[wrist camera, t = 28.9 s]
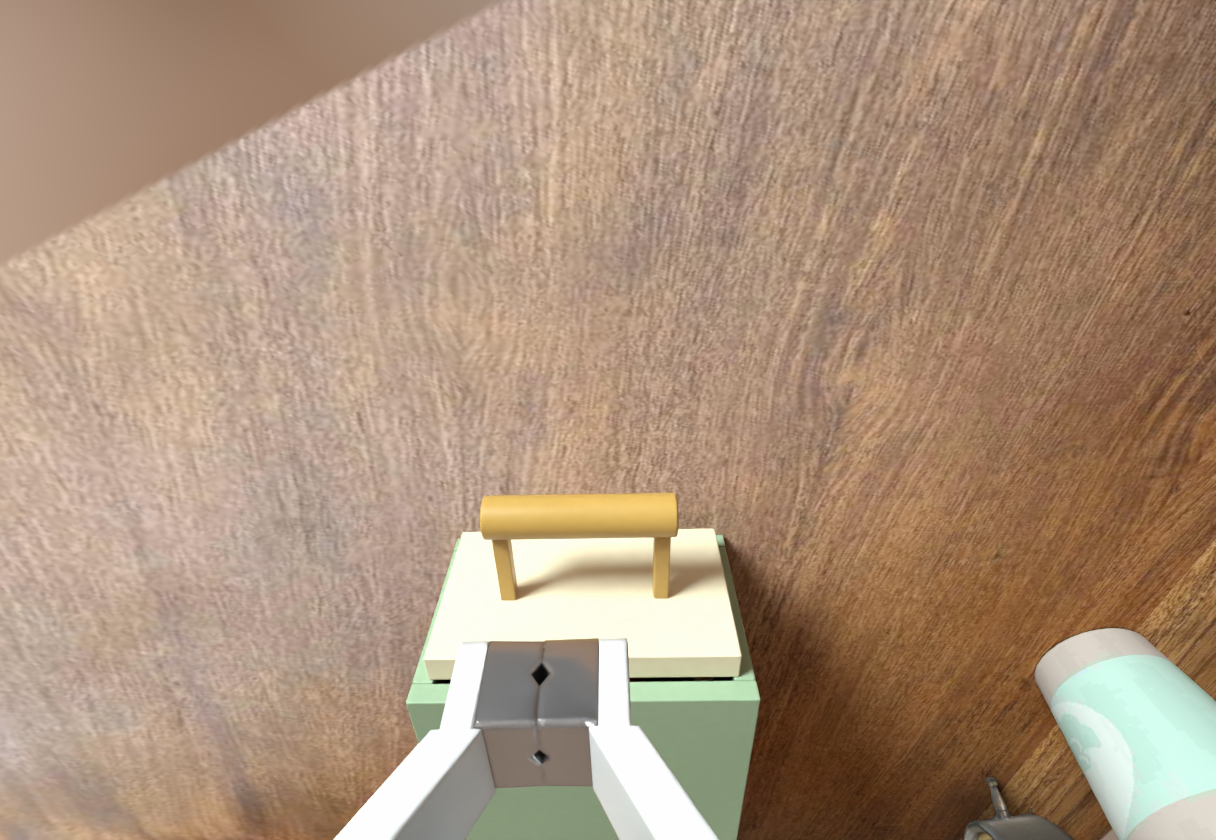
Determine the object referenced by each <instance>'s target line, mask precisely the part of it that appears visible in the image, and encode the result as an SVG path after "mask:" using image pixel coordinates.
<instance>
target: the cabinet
mask: <svg viewBox="0 0 1216 840" xmlns="http://www.w3.org/2000/svg"><path fill="white" fill-rule="evenodd" d="M716 538H717V543H718V547H719V552H720V557H721V561H722V566H723V570H724V575H725V580H726V584H727V589H728V594H729V598H730V603H731V608H732V612H733V617H734V621H735V626H736V631H737V635H738V640H739V645H740V649H741V654H742V658H741V666H740V673H739V676H738V677H714V681H674V682H630V701H631V724H632V725H634V726H641V728H642V729H643V731H644V732H645V734H646V735H647V736H648V738H649V739H650V741H651V742H652V744H653V745H654V747H655V748H656V749H657V751H658V752H659V754H660V755H661V757H662V758H663V760H664V761H665V762H666V764H667V765H668V767H669V768H670V770H671V771H672V772H673V774H674V775H675V777H676V778H677V780H678V781H679V783H680V784H681V785H682V787H683V788H684V790H685V791H686V793H687V794H688V796H689V797H690V798H691V800H692V801H693V803H694V804H695V806H696V807H697V809H698V810H699V811H700V813H701V814H702V816H703V817H704V819H705V820H706V821H707V823H708V824H709V826H710V827H711V829H712V830H713V832H714V833H715V834H716V836H717V837H718V839H719V840H737V835H738V829H739V823H740V817H741V811H742V806H743V800H744V794H745V788H746V782H747V776H748V770H749V764H750V759H751V753H752V747H753V741H754V735H755V729H756V723H757V717H758V712H759V706H760V700H761V699H760V695H759V690H758V686H757V682H756V678H755V674H754V669H753V665H752V661H751V656H750V652H749V648H748V643H747V639H746V635H745V630H744V626H743V622H742V617H741V613H740V609H739V604H738V600H737V595H736V591H735V587H734V582H733V578H732V574H731V569H730V565H729V561H728V556H727V552H726V548H725V542H724V538H723V535H716ZM460 540H461V539H458V540H457V543H456V546H455V550H454V553H453V557H452V560H451V563H450V566H449V569H448V572H447V575H446V579H445V582H444V585H443V588H442V591H441V594H440V597H439V601H438V604H437V607H436V610H435V613H434V616H433V620H432V623H431V626H430V629H429V632H428V635H427V638H426V642H425V645H424V648H423V651H422V654H421V657H420V661H419V664H418V667H417V670H416V673H415V676H414V679H413V684H412V685H411V689H410V692H409V695H408V698H407V701H406V705H407V708H408V711H409V715H410V718H411V721H412V724H413V727H414V730H415V734H416V737H417V740H418V743H420V742H421V740H422V739H423V738H424V737H425V736H426V735H427V734H428V733H429V731H430V730H437V729H440V725H441V720H442V716H443V712H444V708H445V703H446V699H447V695H448V690H449V686H450V682H451V680H429V678H428V674H427V671H426V667H425V663H424V656H425V652H426V649H427V646H428V643H429V640H430V636H431V633H432V630H433V627H434V624H435V620H436V617H437V614H438V611H439V607H440V604H441V601H442V598H443V595H444V591H445V588H446V585H447V582H448V579H449V575H450V572H451V569H452V566H453V563H454V559H455V556H456V553H457V550H458V547H459V543H460ZM495 791H496V792H495V794H494V795H493V797H492V799H491V800H490V802H489V803H488V805H487V806H486V808H485V809H484V811H483V813H482V814H481V816H480V817H479V819H478V820H477V822H476V823H475V825H474V827H473V828H472V830H471V831H470V833H469V834H468V836H467V837H466V839H465V840H619V838H618V836H617V834H616V832H615V831H614V829H613V827H612V825H611V823H610V821H609V819H608V817H607V815H606V813H605V811H604V809H603V807H602V805H601V804H600V802H599V800H598V798H597V796H596V794H595V792H594V790H593V786H535V787H515V788H495Z"/></svg>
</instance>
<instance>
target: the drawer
mask: <svg viewBox="0 0 1216 840" xmlns="http://www.w3.org/2000/svg"><path fill="white" fill-rule="evenodd" d="M480 529H481V532H463V534H462V537H461V540H460V543H459V547H458V550H457V553H456V556H455V559H454V563H453V566H452V569H451V572H450V575H449V579H448V582H447V585H446V588H445V591H444V595H443V598H442V601H441V604H440V607H439V611H438V614H437V617H436V620H435V624H434V627H433V630H432V633H431V636H430V640H429V643H428V646H427V649H426V652H425V656H424V663H425V667H426V671H427V674H428V678H429V680H451V678H452V673H453V669H454V665H455V661H456V656H457V652H458V649H459V647H460V645H461V643H462V642H467V641H545V640H565V639H593V638H599V639H618V638H627V642H628V655H629V678H643V682H674V681H714V677H738V676H739V673H740V666H741V658H742V654H741V649H740V645H739V640H738V635H737V631H736V626H735V621H734V617H733V612H732V608H731V603H730V598H729V594H728V589H727V584H726V580H725V575H724V570H723V566H722V561H721V557H720V552H719V547H718V543H717V538H716V533H715V530H714V529H678V502H677V496H676V494H675V493H622V494H557V495H491V496H485V497H484V498H483V501H482V504H481V510H480Z"/></svg>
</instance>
